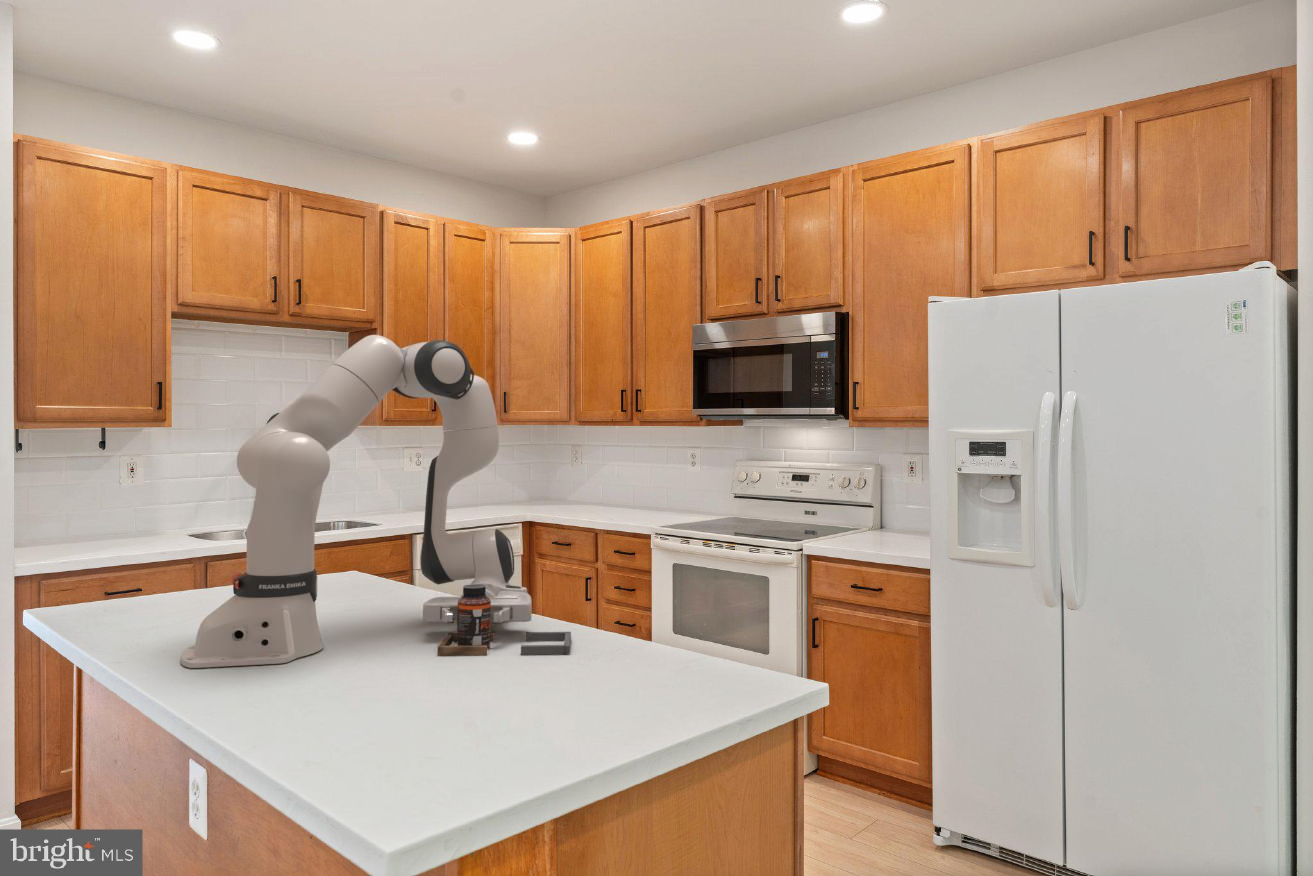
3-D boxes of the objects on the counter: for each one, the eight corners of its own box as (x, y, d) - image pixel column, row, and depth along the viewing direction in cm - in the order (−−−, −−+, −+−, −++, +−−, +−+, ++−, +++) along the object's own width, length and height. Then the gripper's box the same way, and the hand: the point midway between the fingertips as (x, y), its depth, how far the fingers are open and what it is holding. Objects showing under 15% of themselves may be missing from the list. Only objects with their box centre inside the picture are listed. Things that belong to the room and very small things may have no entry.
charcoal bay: (520, 655, 149) (520, 646, 149) (525, 639, 160) (526, 632, 160) (569, 654, 150) (569, 646, 150) (571, 639, 161) (571, 631, 160)
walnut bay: (437, 655, 148) (437, 647, 148) (448, 640, 159) (448, 632, 159) (486, 655, 148) (486, 646, 148) (493, 640, 159) (494, 632, 159)
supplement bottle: (486, 652, 151) (486, 589, 151) (453, 651, 151) (453, 588, 151) (493, 644, 157) (494, 583, 157) (461, 643, 157) (462, 582, 157)
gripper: (429, 587, 166) (414, 601, 152) (534, 587, 167) (529, 600, 154) (429, 619, 166) (414, 636, 152) (534, 619, 167) (528, 635, 154)
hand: (473, 618), depth 153 cm, fingers open, 7 cm apart
